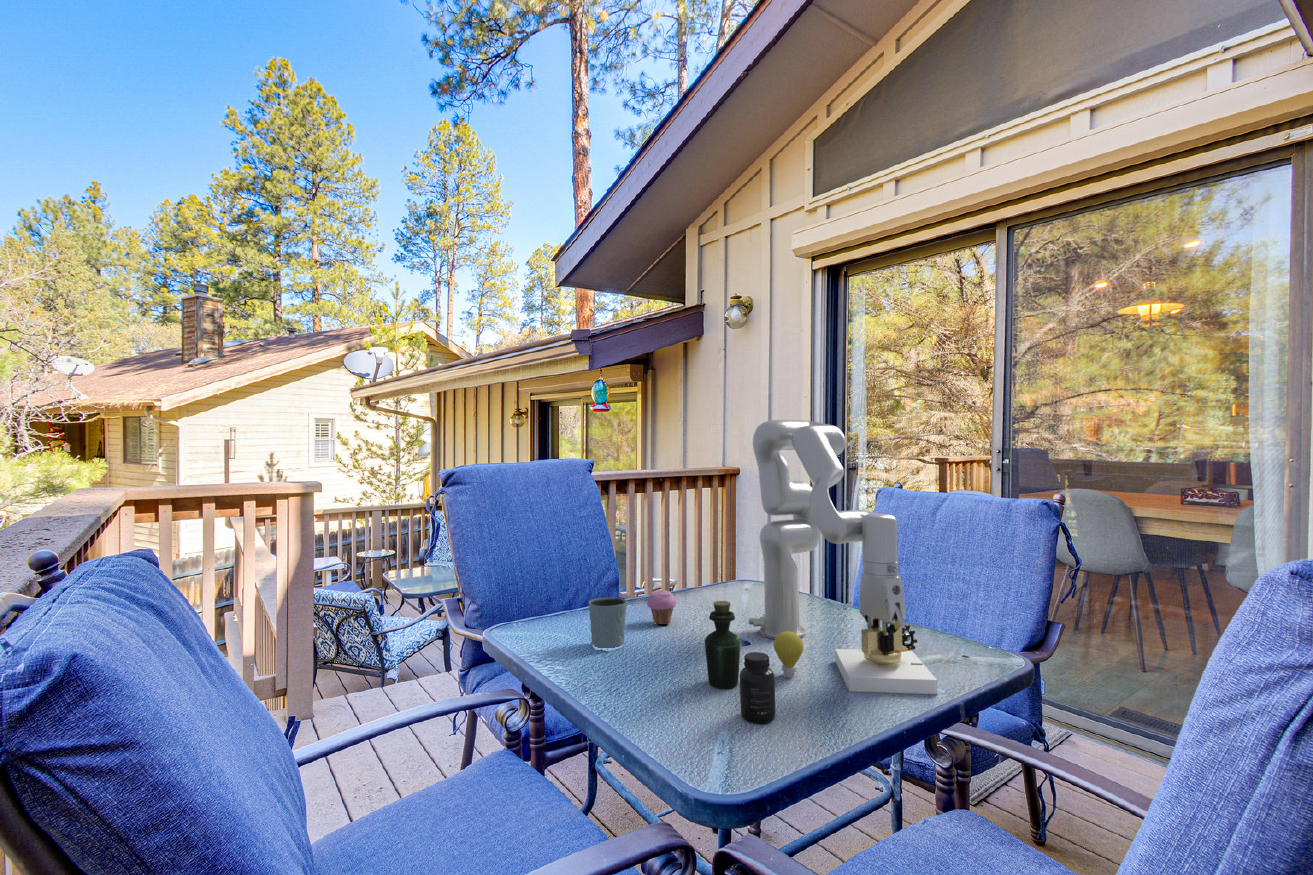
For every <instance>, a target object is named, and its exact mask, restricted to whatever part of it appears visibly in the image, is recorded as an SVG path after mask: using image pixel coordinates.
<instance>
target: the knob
mask: <svg viewBox="0 0 1313 875" xmlns="http://www.w3.org/2000/svg"><path fill="white" fill-rule="evenodd" d="M889 626H890V625H888V627H889ZM860 632H861V635H860V636H861V650H862V652H864V658H865V659H867V660H869V661H872V662H875V663H878V664H895V663H898V662H900V661H901V652H905V651H909V650H908V648H906V647H905V646H903V645H902V628H900V629H898V630H897V631H896V634H894V651H891V652H886V653H883V652H882V651H881V634H883V629H882V626H880V627H878V628H870V629H868V628H863V629H861V631H860Z"/></svg>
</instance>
